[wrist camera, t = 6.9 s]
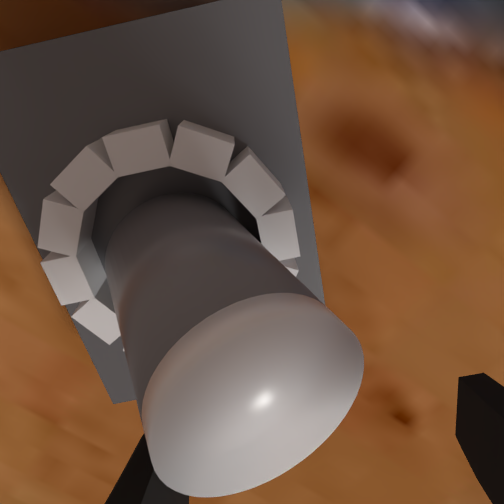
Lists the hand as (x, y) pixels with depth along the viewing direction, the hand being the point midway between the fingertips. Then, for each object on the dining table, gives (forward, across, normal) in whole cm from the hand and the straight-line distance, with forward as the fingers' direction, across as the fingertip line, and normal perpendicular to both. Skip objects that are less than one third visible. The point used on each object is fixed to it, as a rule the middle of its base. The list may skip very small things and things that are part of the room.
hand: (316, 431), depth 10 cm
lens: (+5, +4, -3) cm, 7 cm away
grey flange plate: (+9, +4, -3) cm, 10 cm away
